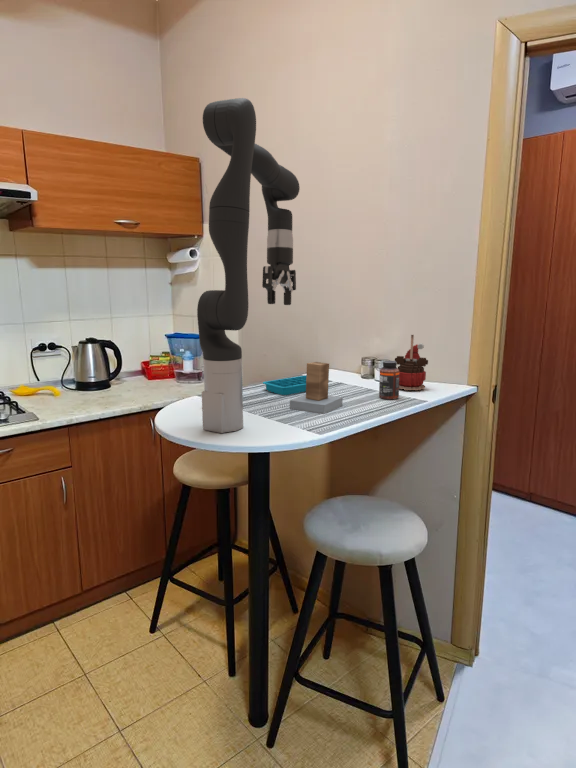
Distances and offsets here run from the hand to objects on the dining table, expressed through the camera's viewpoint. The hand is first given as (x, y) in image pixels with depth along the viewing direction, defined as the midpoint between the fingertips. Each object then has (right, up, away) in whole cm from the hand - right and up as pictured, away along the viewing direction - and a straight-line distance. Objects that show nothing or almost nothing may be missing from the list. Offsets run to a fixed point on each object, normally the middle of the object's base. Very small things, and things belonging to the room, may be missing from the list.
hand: (279, 304), depth 150 cm
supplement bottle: (+33, -28, +8) cm, 44 cm away
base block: (+11, -30, -3) cm, 32 cm away
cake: (+43, -25, +21) cm, 54 cm away
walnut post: (+11, -27, -3) cm, 29 cm away
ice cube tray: (+5, -25, +22) cm, 34 cm away
